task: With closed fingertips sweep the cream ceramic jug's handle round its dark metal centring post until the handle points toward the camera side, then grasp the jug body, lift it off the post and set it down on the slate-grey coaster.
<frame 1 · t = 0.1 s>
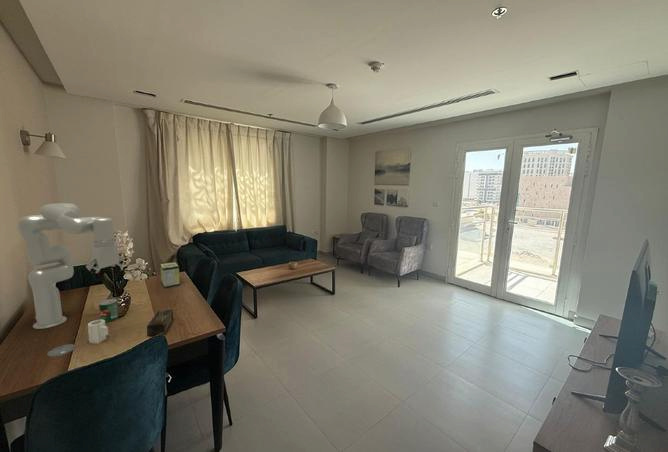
hand: (108, 277, 131), 31 cm above the table, fingers open, 9 cm apart
canned tomato: (109, 320, 152), on the table
beverage carton: (161, 328, 145), on the table
protein box: (170, 284, 209), on the table
post: (98, 340, 132), on the table
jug: (98, 339, 131), touching post
coaster: (62, 351, 122), on the table
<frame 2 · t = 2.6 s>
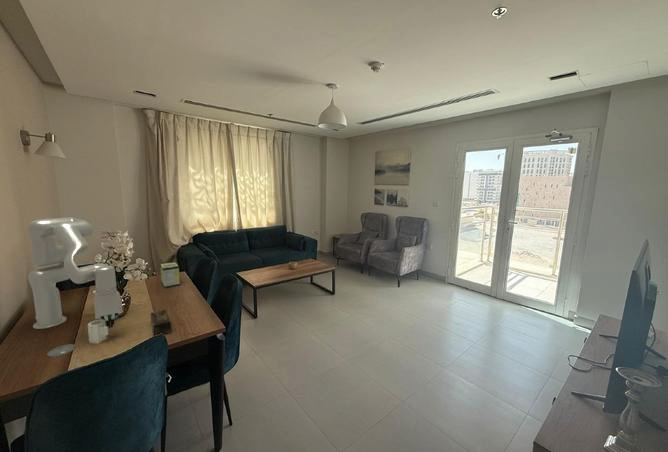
hand: (110, 326, 133), 6 cm above the table, fingers closed
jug: (98, 339, 131), touching gripper, post
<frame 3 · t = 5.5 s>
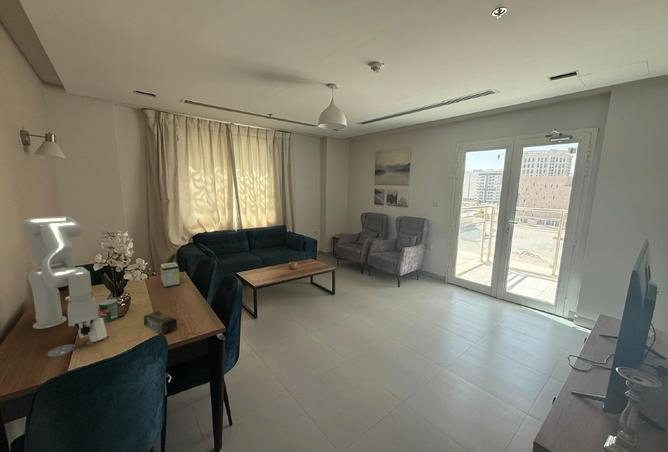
hand: (85, 334, 126), 6 cm above the table, fingers closed
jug: (98, 338, 131), point 1 cm above the table, tilted 12°, touching gripper, post
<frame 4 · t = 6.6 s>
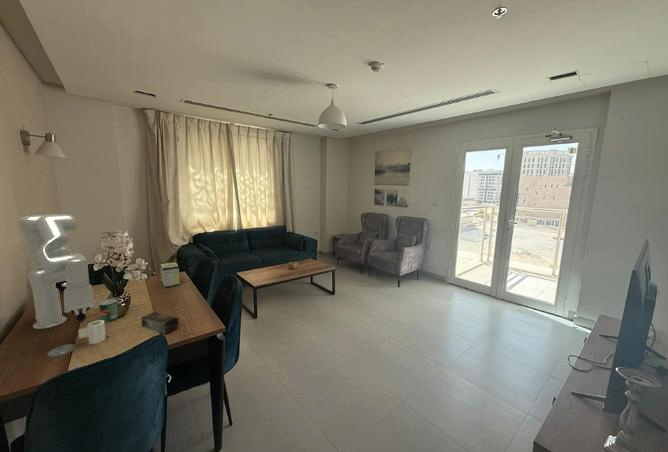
hand: (81, 321, 126), 12 cm above the table, fingers closed
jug: (97, 340, 131), touching post
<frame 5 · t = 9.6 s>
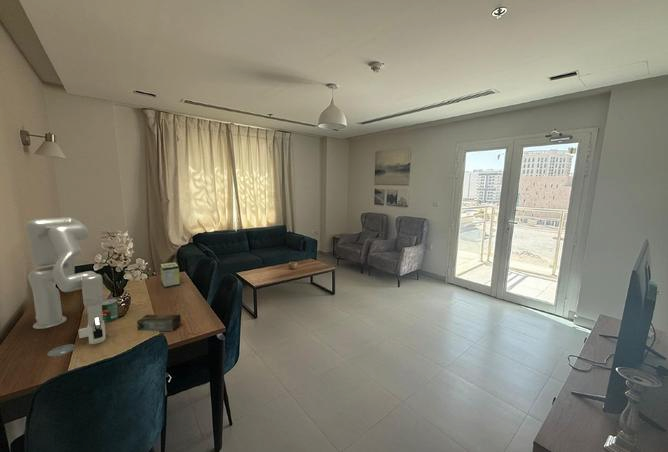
hand: (97, 334, 131), 3 cm above the table, fingers open, 7 cm apart
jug: (97, 340, 131), point 1 cm above the table, touching gripper, post
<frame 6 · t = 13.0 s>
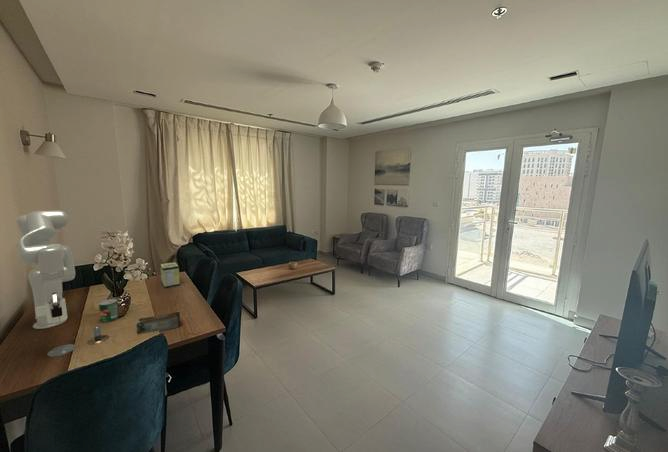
hand: (57, 313, 120), 18 cm above the table, fingers closed on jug, 6 cm apart
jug: (57, 320, 120), point 15 cm above the table, touching gripper
when the fingers open (4 cm above the table, at t = 16.0 s): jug stays where it is, resting on coaster.
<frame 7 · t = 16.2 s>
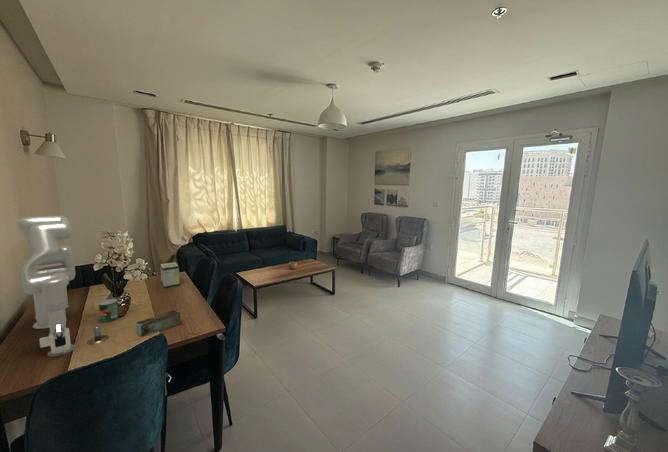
hand: (60, 341, 122), 5 cm above the table, fingers open, 8 cm apart
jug: (61, 349, 122), point 1 cm above the table, touching coaster
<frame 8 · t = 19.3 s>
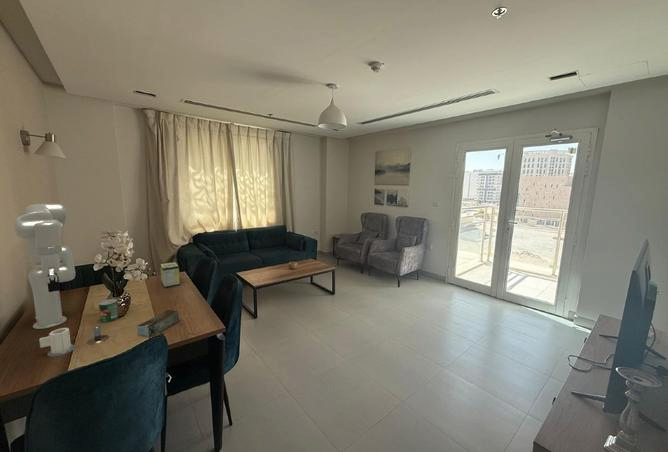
hand: (54, 288, 118), 30 cm above the table, fingers open, 9 cm apart
at the end: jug 0.2 cm from the coaster (horizontally); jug point 0.8 cm above the table; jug tilted 0° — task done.
